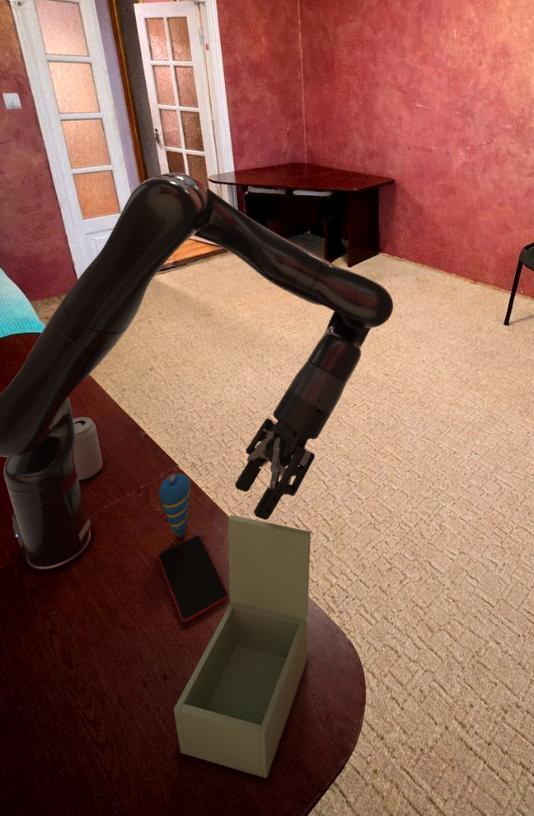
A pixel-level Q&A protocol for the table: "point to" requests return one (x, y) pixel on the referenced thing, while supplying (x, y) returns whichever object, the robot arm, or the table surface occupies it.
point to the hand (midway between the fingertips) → (249, 502)
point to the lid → (269, 566)
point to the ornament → (176, 501)
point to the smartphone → (192, 578)
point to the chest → (243, 689)
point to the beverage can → (86, 448)
